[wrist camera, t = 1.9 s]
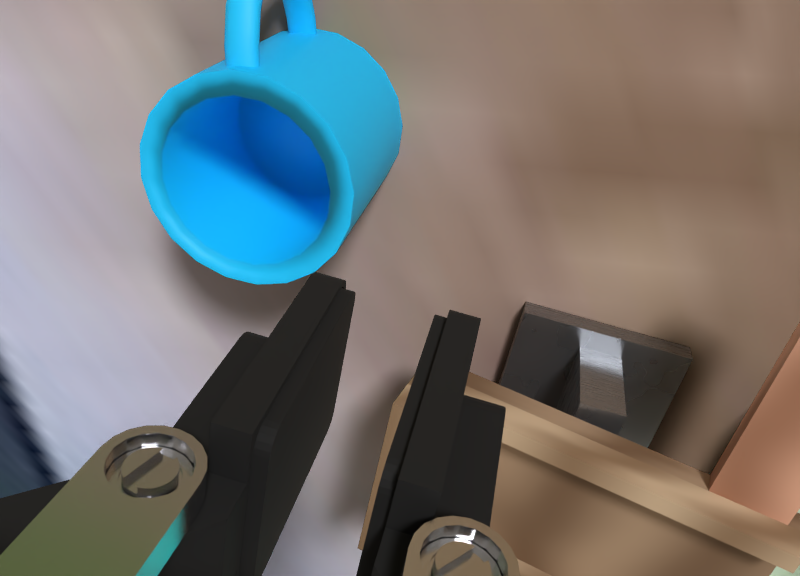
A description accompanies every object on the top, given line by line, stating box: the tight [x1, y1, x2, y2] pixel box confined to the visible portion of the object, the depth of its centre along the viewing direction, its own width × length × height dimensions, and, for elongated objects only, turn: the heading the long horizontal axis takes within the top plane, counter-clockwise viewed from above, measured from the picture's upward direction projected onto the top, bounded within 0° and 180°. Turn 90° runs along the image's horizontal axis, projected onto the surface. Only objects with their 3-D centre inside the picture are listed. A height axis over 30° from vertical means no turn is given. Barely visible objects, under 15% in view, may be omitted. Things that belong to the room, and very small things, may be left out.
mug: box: [140, 0, 403, 285], centre depth 28 cm, size 12×8×8 cm
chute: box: [358, 322, 800, 576], centre depth 29 cm, size 16×18×4 cm
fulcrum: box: [498, 302, 693, 448], centre depth 35 cm, size 8×12×5 cm, turn 168°
